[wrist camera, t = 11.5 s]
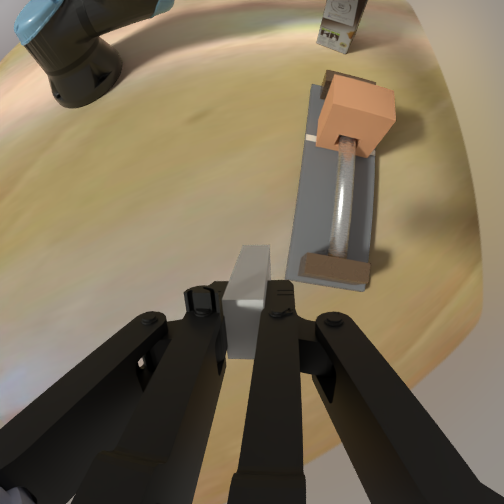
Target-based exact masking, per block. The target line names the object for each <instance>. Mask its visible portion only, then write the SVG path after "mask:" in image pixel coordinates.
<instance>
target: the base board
mask: <svg viewBox="0 0 504 504" xmlns="http://www.w3.org/2000/svg"><path fill="white" fill-rule="evenodd" d="M320 90H321V86H319V85H315V84H312V86H311V90H310V99H309V108H308V117H307V125H306V133H305V142H304V150H303V157H302V165H301V173H300V180H299V187H298V195H297V202H296V209H295V216H294V222H293V229H292V236H291V242H290V249H289V255H288V261H287V268H286V274H285V280H291V281H297V282H303V283H309V284H315V285H321V286H328V287H334V288H340V289H346V290H353V291H359V292H363V291H365V284H361V285H349V284H343V283H337V282H331V281H325V280H319V279H313V278H307V277H301V276H298V272H299V265H300V259H301V257H302V256H304V255H305V254H306V253H307V252H309V253H315V254H321V255H326V256H328V248H329V240H330V232H331V224H332V215H333V205H334V196H335V185H336V174H337V162H338V151H335V150H330V149H326V148H321V147H316V137H317V128H318V119H319V116H320V113H321V110H322V108H323V105H324V102H325V100H322V99H320ZM374 176H375V149H374V150H373V151H372V152H371V154H370V155H369V156H368V158H364V157H360V156H356V155H355V172H354V188H353V201H352V212H351V223H350V233H349V242H348V251H347V259H348V260H354V261H360V262H365V263H368V259H369V249H370V239H371V227H372V214H373V198H374Z"/></svg>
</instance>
